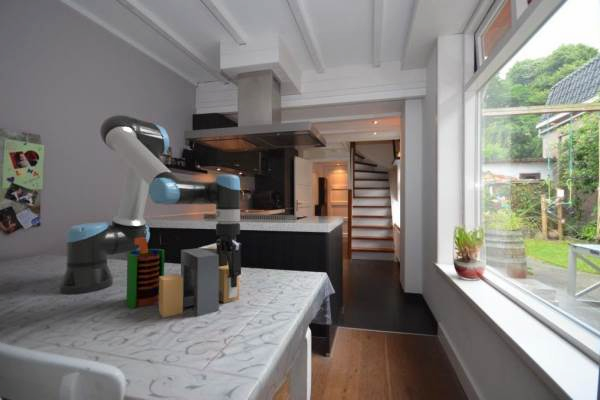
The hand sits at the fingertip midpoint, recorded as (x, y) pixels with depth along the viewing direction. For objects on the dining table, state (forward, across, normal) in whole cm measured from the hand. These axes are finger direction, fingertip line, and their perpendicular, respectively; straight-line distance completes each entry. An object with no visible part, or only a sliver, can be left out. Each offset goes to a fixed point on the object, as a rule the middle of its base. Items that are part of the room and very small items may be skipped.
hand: (227, 294), depth 86 cm
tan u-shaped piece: (+1, 0, -9) cm, 9 cm away
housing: (+1, 0, -9) cm, 9 cm away
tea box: (+2, -19, +6) cm, 20 cm away
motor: (+2, -14, -21) cm, 26 cm away
